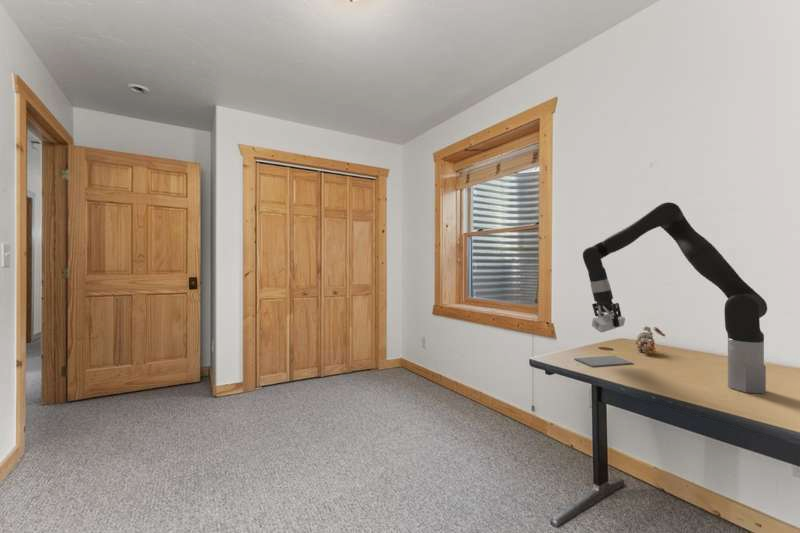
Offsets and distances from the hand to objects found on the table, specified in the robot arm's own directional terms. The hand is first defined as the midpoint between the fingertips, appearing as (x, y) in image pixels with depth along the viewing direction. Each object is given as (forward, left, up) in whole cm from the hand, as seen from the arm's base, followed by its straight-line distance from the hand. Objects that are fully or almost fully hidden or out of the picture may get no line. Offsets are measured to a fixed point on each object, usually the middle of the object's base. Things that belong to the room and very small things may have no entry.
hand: (610, 326), depth 165 cm
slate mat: (-1, +3, -16) cm, 16 cm away
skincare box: (-2, +7, +1) cm, 7 cm away
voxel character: (+19, -25, -16) cm, 35 cm away
